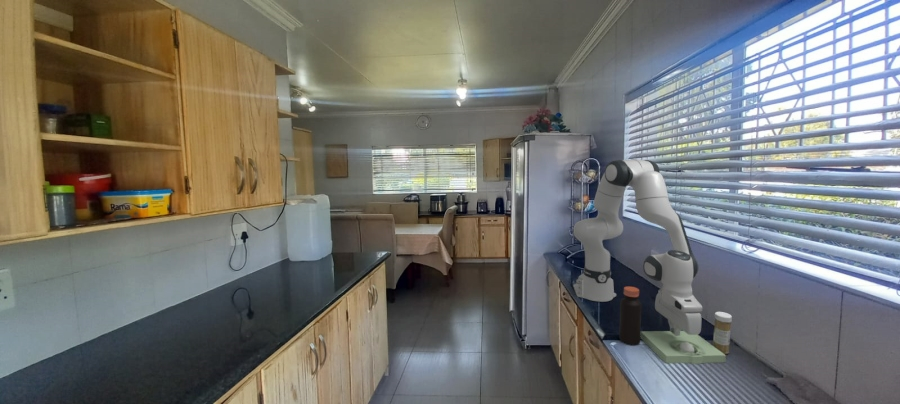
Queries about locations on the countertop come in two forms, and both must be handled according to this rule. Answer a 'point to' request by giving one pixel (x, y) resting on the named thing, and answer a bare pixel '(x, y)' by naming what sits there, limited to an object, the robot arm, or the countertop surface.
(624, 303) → the vinegar
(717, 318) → the sprinkles bottle
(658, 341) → the putting mat
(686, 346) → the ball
